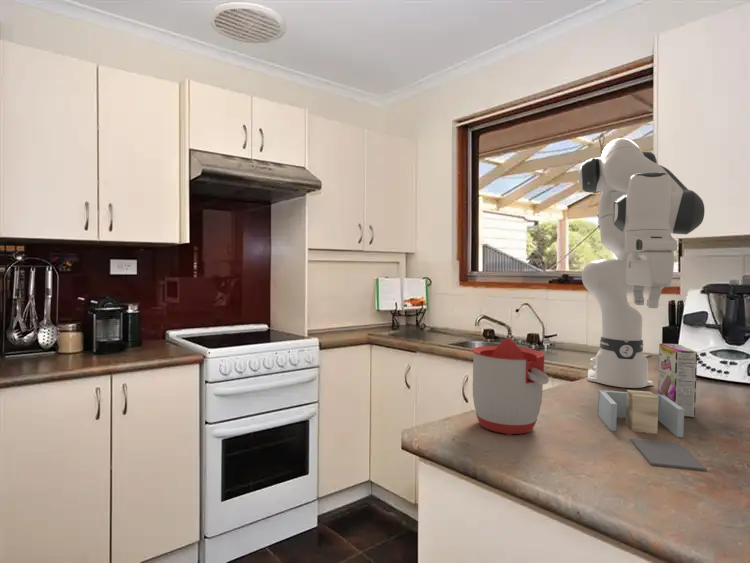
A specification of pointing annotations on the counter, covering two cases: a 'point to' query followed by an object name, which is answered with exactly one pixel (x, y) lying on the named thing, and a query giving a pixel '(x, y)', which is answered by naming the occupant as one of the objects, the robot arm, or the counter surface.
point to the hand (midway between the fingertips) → (645, 306)
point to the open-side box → (615, 406)
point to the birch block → (642, 411)
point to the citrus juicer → (508, 386)
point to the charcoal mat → (667, 454)
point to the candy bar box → (678, 376)
